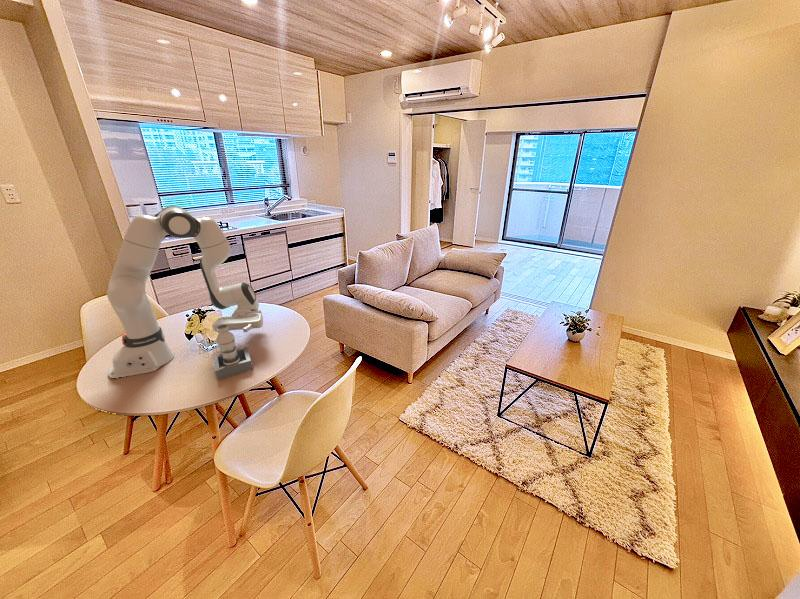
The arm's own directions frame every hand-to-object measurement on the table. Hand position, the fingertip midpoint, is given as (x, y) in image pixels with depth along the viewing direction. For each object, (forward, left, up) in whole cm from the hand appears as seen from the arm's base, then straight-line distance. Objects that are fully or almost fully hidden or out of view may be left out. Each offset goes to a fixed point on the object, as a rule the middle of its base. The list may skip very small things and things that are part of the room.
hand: (233, 331), depth 135 cm
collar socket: (-3, -7, -13) cm, 15 cm away
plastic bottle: (-3, -8, -13) cm, 16 cm away
